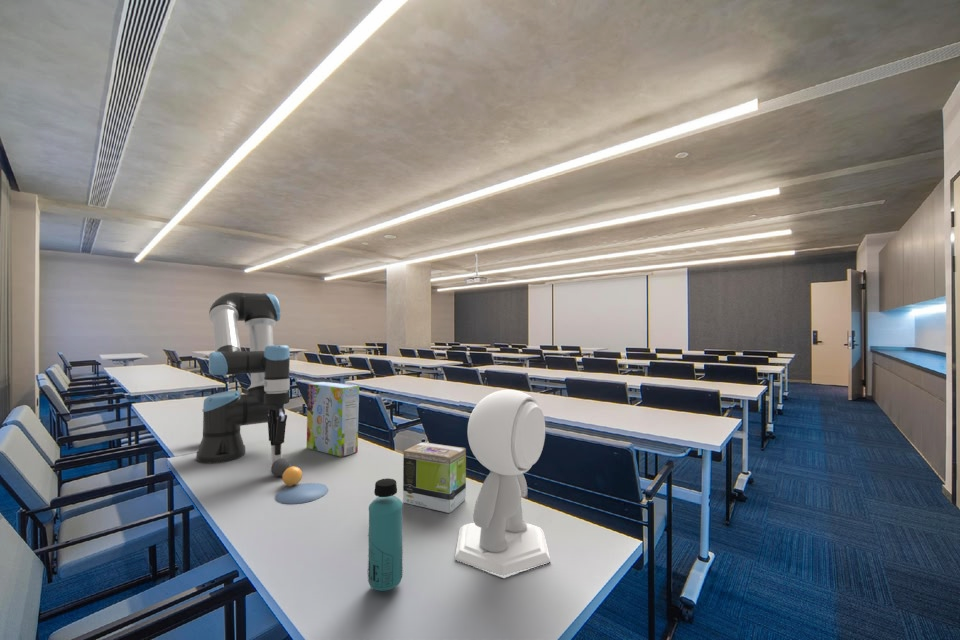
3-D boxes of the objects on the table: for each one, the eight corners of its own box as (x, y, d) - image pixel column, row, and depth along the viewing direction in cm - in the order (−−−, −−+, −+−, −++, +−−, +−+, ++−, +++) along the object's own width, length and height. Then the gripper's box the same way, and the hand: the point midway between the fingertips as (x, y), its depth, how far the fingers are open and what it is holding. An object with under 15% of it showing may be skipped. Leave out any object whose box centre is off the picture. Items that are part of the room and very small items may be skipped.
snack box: (359, 452, 153) (360, 385, 153) (341, 458, 145) (342, 388, 146) (323, 442, 164) (324, 380, 164) (304, 448, 157) (305, 382, 157)
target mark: (295, 482, 123) (295, 481, 123) (337, 485, 121) (337, 484, 121) (263, 501, 109) (263, 501, 109) (310, 506, 107) (310, 505, 107)
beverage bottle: (409, 581, 76) (410, 476, 76) (390, 604, 70) (391, 490, 70) (379, 574, 78) (381, 472, 79) (359, 595, 72) (360, 485, 72)
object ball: (289, 480, 124) (290, 463, 124) (305, 482, 123) (306, 464, 123) (278, 488, 119) (278, 469, 119) (294, 489, 118) (295, 470, 118)
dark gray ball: (279, 454, 131) (284, 454, 127) (290, 466, 132) (296, 466, 129) (265, 468, 127) (270, 468, 123) (276, 480, 129) (282, 480, 125)
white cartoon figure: (530, 590, 74) (531, 402, 75) (433, 551, 86) (435, 390, 87) (566, 541, 91) (568, 388, 91) (481, 515, 103) (483, 380, 104)
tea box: (466, 499, 112) (467, 447, 112) (449, 515, 103) (449, 457, 103) (421, 489, 119) (422, 440, 119) (401, 503, 109) (402, 449, 110)
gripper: (258, 391, 133) (257, 462, 132) (270, 394, 124) (270, 471, 123) (282, 389, 139) (281, 457, 138) (295, 392, 129) (295, 465, 128)
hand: (276, 464), depth 130 cm, fingers closed
